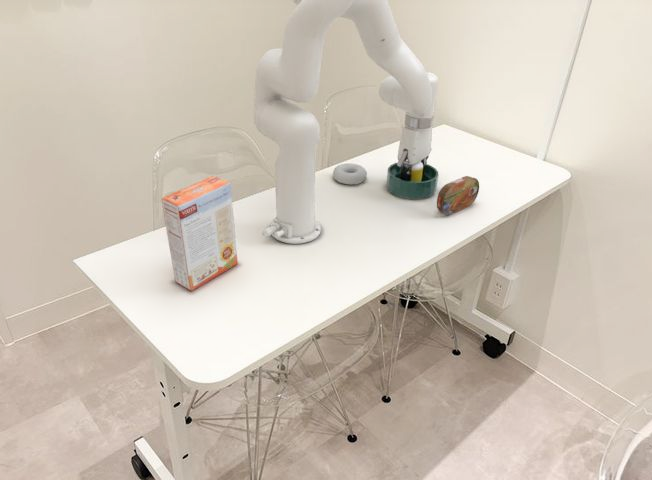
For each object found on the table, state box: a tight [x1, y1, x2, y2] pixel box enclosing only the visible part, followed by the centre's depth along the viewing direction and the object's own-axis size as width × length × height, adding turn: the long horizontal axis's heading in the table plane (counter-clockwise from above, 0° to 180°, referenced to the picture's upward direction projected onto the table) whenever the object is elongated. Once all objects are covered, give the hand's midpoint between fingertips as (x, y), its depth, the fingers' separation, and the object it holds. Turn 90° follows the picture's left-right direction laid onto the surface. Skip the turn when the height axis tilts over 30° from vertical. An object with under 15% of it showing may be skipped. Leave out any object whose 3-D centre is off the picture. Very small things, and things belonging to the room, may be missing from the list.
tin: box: [436, 175, 480, 216], centre depth 157 cm, size 15×3×8 cm, turn 129°
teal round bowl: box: [386, 162, 439, 200], centre depth 167 cm, size 14×14×6 cm
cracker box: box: [161, 175, 238, 292], centre depth 125 cm, size 14×6×21 cm, turn 141°
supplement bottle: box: [405, 160, 423, 182], centre depth 165 cm, size 5×5×10 cm
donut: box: [332, 162, 368, 185], centre depth 172 cm, size 10×4×10 cm
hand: (411, 180), depth 167 cm, fingers open, 6 cm apart
